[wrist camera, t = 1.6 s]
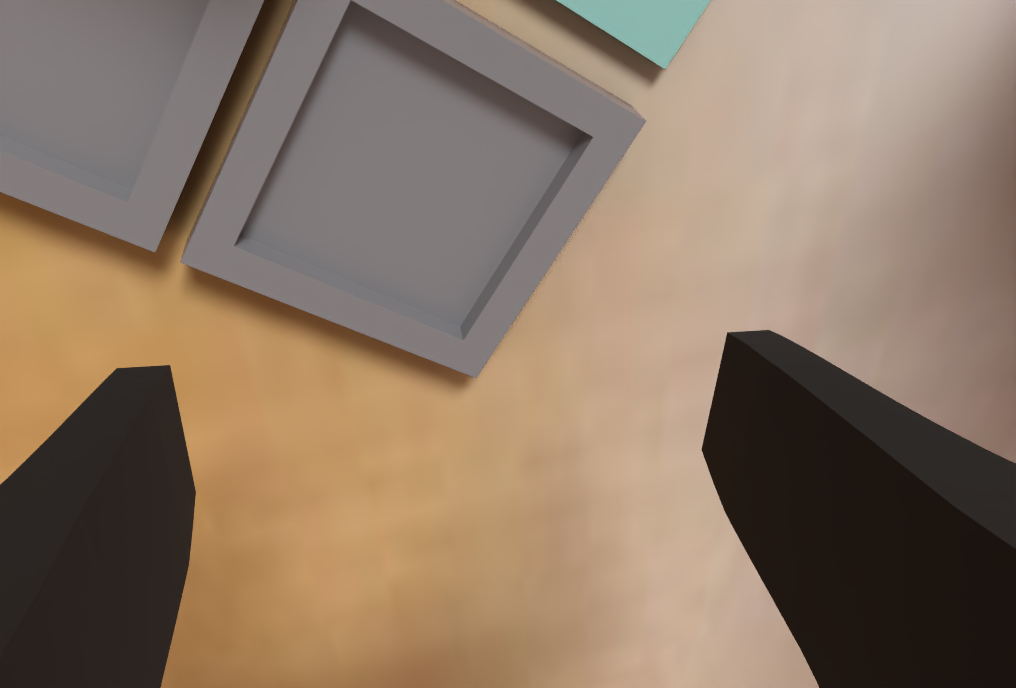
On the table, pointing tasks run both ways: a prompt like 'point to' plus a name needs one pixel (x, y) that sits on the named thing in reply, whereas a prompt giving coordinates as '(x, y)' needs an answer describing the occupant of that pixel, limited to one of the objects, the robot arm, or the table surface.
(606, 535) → the table surface
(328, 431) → the table surface
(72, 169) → the tray
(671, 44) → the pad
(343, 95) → the tray
